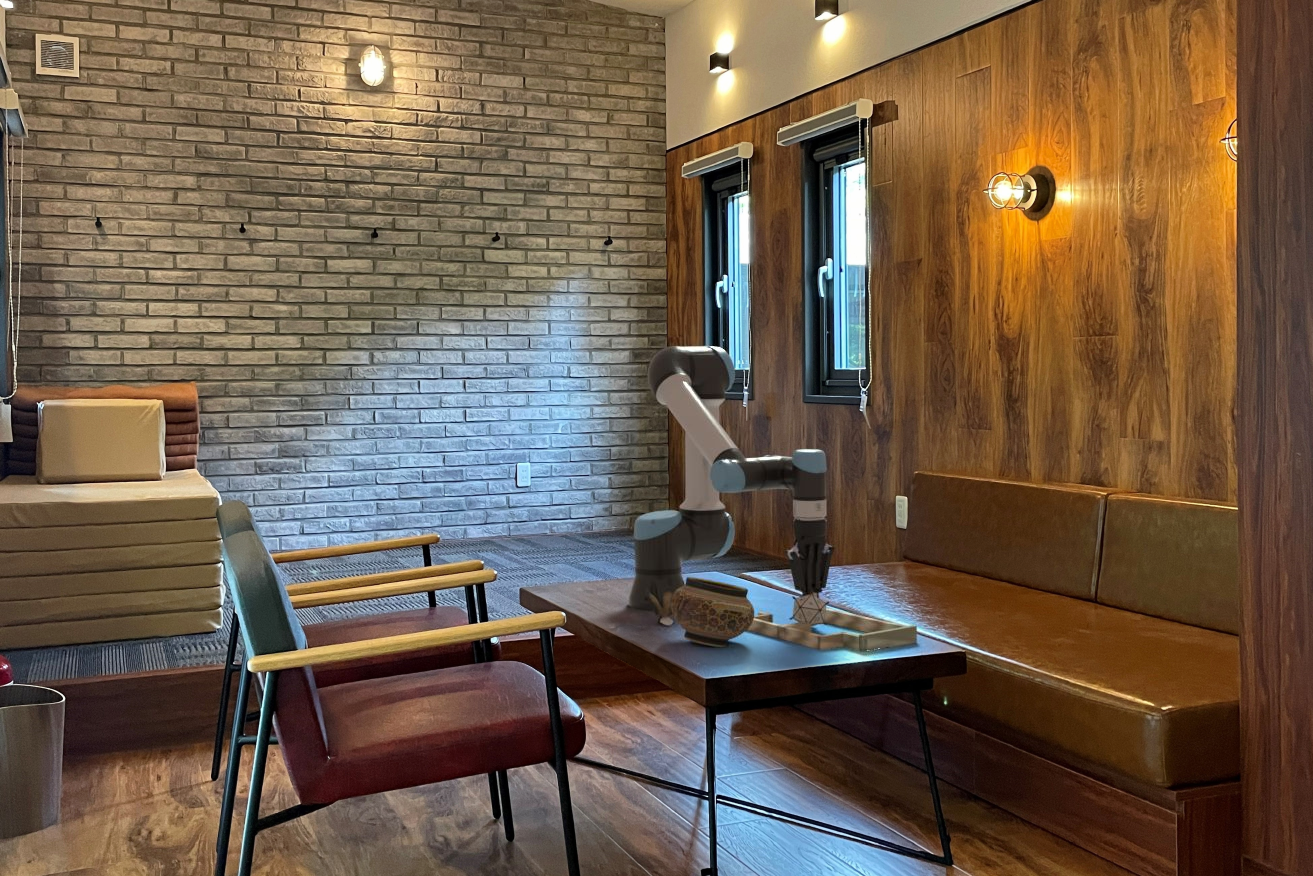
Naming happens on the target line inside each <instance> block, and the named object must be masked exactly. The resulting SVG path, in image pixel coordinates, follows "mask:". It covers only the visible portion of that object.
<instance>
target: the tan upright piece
mask: <svg viewBox="0 0 1313 876" xmlns="http://www.w3.org/2000/svg"><path fill="white" fill-rule="evenodd" d="M675 591H676V590H675V589H674V588H672V587H669V586H668V587H666V589H664V594H663V606H662V608H661V606H660V604H659V602H658V601H657V599H656V598H655V597H654V596H653V595H652V594H651V592H650V591H648V589H647V591H646V592H647V593H646V594H647V595H646V596H647V598H648V600H649V602H650V603H651V605H652V607H653V608H654V609H653V610H654V611H653V613H654V615H656V616H658V618H657V622H656V624H658V625H664V626H672V625H673V624H675V622H674V620H673V619H671V618H670V616H673V613H672V610H671V597H672V595H673V593H674V592H675Z"/></svg>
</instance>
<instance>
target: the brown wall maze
mask: <svg viewBox="0 0 1313 876" xmlns="http://www.w3.org/2000/svg"><path fill="white" fill-rule="evenodd" d="M773 617H774V614H773V613H768V612H765V611H758V612H757V615H754V619H753V622H752V624H751V625H750V627H749V628H748V629H747V630H748V631H750V632H751V631H752V632H755V633H759V634H762V635H765V636H769V637H772V638H775V639H776V638H777V639H780V640H783V641H788V642H790V643H791V642H792V643H795V644H799V645H802V646H805V647H809V648H813V649H816V650H819V649H820V651H824V649H826V650H831V648H832V649H837V648H836V647H839V648H846V647H847V649H850V648H851V649H850V650H854V649H855V650H854V651H857V650H860V651H859V652H861V651H866V652H868V651H867V650H872V651H875V650H874V649H878V648H884V649H887V648H886V647H889V648H894V647H899V646H905V645H910V644H914V643H918V631H917V630H918V629H917V628H918V626H917V625H914V624H912V625H907V624H902V623H901V624H900V623H896V622H891V621H886V620H885V621H884V620H881V619H876V618H871V617H868V616H867V617H866V616H864V615H863V616H862V615H860V614H859V615H858V614H854V613H851V612H850V613H849V612H846V611H845V612H844V611H841V610H836V609H832V608H827V607H826V612H825V620H824V622H826V624H831V625H836V626H839V627H843V628H849V629H852V630H856V631H860V632H865V633H861V634H855V633H851V632H848V631H839V632H833V633H827V634H823V635H822V634H817V633H814V632H812V626H811V624H810V623H806V622H797V621H796V622H791V623H785V624H778V623H775V622H774V618H773ZM747 630H746V631H747Z"/></svg>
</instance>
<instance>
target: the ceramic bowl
mask: <svg viewBox="0 0 1313 876" xmlns="http://www.w3.org/2000/svg"><path fill="white" fill-rule="evenodd" d="M748 593H749V589H748V588H746V587H742V586H738V585H734V584H730V583H726V582H721V581H715V580H712V579H704V578H701V577H700V578H699V577H691V576H688V577H686V578H685V585H684V586H682V587H680V588H678V589H677V590H676V591H675V592H674V593H673V595H672V597H671V610H672V613H673V615H672V616H673V618H674V619H675V621H676V622H677V624H678V625H679V626H680V627H681V628H682V629H683V630H684V631H685V632H684V636H683V637H684V639H686V640H689V641H691V642H694V643H697V644H699V645H700V644H701V645H706V646H710V647H716V648H724V647H727V646H729V643H728V642H729V641H730V640H733V639H734V638H738V637H739V636H741V635H743V634H744V633H745V632H746V631H747V629H748V628H749V627H750V625H751V624H752V622H753V619H754V616H755V609H754V606H753V604H752V602H751V601H750V600H749V599H748V596H747V595H748Z"/></svg>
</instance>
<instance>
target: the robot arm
mask: <svg viewBox="0 0 1313 876" xmlns="http://www.w3.org/2000/svg"><path fill="white" fill-rule="evenodd" d="M735 377H736V371H735V365H734V362H733V359H732V357H731V356H730V355H729V353H728V352H727V351H726V350H725V349H723V348H721V347H720V346H710V345H693V346H692V345H691V346H689V345H688V346H686V345H685V346H678V345H673V346H667V347H665V348H662V349H661V350H659V351H658V352H657V353H655V355H654V356H653V357H652V359H651V360H650V362H649V366H648V369H647V383H648V385H649V389H650V391H651V393H652V395H653V396H654V397H655V399H656V400H657V402H658V403H660V404H661V405H662V406H663V405H664V406H666V407H667V408H668V410H669V411H670V412H671V414H672V415H673V417H675V419H676V420H677V422H678V423H679V425H680V426H681V428H682V429H683V430H684V432H685V440H684V441H685V444H684V445H685V450H684V451H685V454H684V455H685V463H684V464H685V498H684V501H683V502H682V503H681V504H680V505H679V511H677V510H673V509H670V510H658V511H657V510H655V511H652V512H651V511H650V512H648V513H644V514H642V515H639V516H638V517H637V518H636V519H635V521H634V527H633V538H634V541H633V542H634V543H633V544H634V579H633V582H632V586H631V589H630V593H629V596H628V607H629V606H630V607H629V608H631V609H633V608H634V610H637V611H638V610H639V611H645V612H646V611H648V612H654V610H653V609H654V608H653V607H652V605H651V603H650V602H649V600H648V598H647V596H646V595H647V594H646V593H647V592H646V591H647V589H648V591H650V592H651V594H652V595H653V596H654V597H655V598H656V599H657V601H658V602H659V604H660V606H661V608H662V606H663V594H664V589H666V587H668V586H669V587H672V588H674V589H675V590H677V589H678V588H680V587H682V586H684V585H685V584H686V582H685V581H684V578H683V574H682V573H683V572H682V571H683V569H682V568H683V567H682V563H683V562H688V561H696V560H698V561H699V560H705V559H706V560H710V559H711V560H712V559H713V558H717V557H721V556H723V555H725V554H727V552H728V551H729V550H730V549H731V547H732V545H733V542H734V540H735V524H734V521H732V520H733V519H732V516H731V514H729V513H728V512H726V506H725V504H723V502H721V500H720V493H723V494H724V493H725V494H727V493H730V494H736V493H742V492H752V491H766V490H775V489H776V490H777V489H778V490H779V489H781V490H791V491H792V494H793V495H792V516H793V517H794V518H793V522H792V523H793V527H792V528H793V529H792V530H793V535H794V537H795V538H794V542H793V547H792V548H791V549H790V550H789V549H787V550H785V556H786V558H787V559H788V561H789V567H790V571H791V576H792V577H791V578H792V581H793V586H794V589H795V590H796V591H797V592H801V595H802V596H805V595H809V594H811V591H812V590H813V595H815V596H816V597H818V598H819V599H820V596H819V594H821V593H822V592H823V589H825V588H827V582H828V578H829V571H830V566H831V559H832V556H833V554H834V552H835V550H836V549H835V546H833V545H830V544H828V543H827V538H826V537H825V536H826V535H827V533H828V532H827V531H828V529H827V528H828V527H827V526H828V525H827V523H828V522H827V521H828V520H827V519H826V518H825V517H826V516H827V470H828V468H827V458H826V453H825V452H824V450H822V449H808V448H804V449H803V448H802V449H796V450H794V451H793V452H792V456H783V455H779V454H769V455H767V454H766V455H764V456H762V457H761V456H760V457H745V455H744V454H743V453H742V451H740V449H739V448H738V447H737V445H736V444H735V442H734V441H733V440H732V439H731V437H730V436H729V435H728V433H727V432H726V431H725V429H724V427H722V425H721V424H720V406H721V405H722V404H723V402H724V401H726V392H728V391H729V390H730V389H732V387H733V384H734V382H735V379H736V378H735ZM802 596H801V597H802Z"/></svg>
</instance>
